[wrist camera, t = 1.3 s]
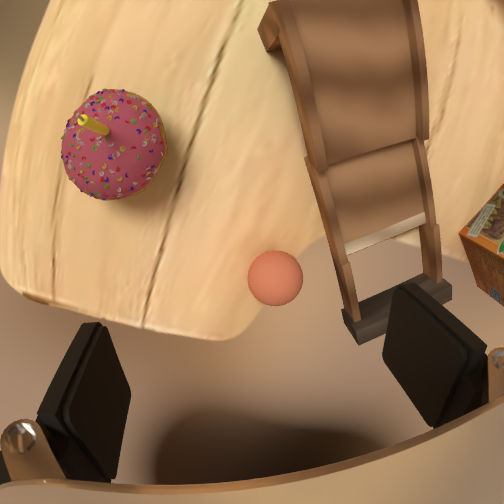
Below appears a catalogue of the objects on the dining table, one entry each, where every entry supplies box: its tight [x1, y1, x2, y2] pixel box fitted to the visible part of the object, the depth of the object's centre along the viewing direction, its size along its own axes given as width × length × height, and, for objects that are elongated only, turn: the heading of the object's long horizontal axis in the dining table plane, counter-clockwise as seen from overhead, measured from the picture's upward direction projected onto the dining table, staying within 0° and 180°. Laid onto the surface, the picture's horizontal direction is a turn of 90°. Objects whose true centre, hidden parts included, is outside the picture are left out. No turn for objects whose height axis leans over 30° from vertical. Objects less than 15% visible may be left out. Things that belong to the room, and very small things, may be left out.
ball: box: [248, 251, 303, 306], centre depth 29 cm, size 5×5×5 cm
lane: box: [257, 0, 452, 345], centre depth 25 cm, size 32×12×8 cm, turn 20°
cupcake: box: [61, 89, 167, 200], centre depth 20 cm, size 9×8×12 cm
